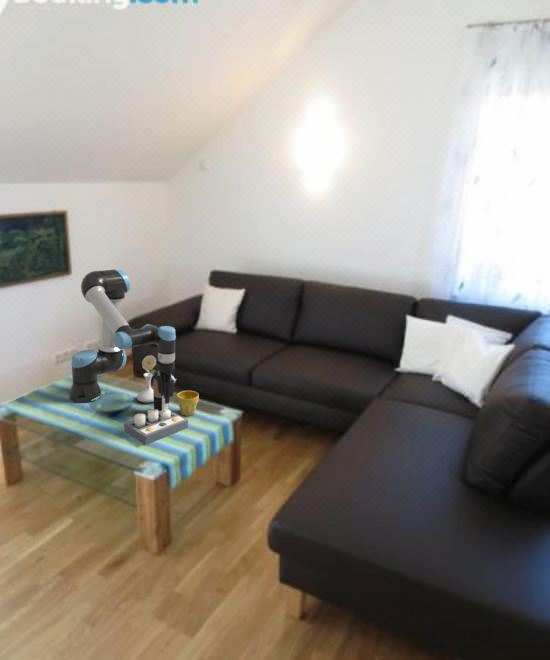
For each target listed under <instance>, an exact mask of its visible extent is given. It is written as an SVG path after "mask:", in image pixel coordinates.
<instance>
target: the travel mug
mask: <svg viewBox="0 0 550 660" xmlns="http://www.w3.org/2000/svg"><path fill="white" fill-rule="evenodd" d="M158 371H159V370H158V369H157V370H155V372H158ZM155 372H154V375H153V398H154V402H153V409H157V410H158V411H161V410H162V396H161V393H159V392H158V385H157V378H156V375H155ZM170 398H171V397H169V399H170ZM168 410H170V408H169V409H168Z"/></svg>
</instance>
